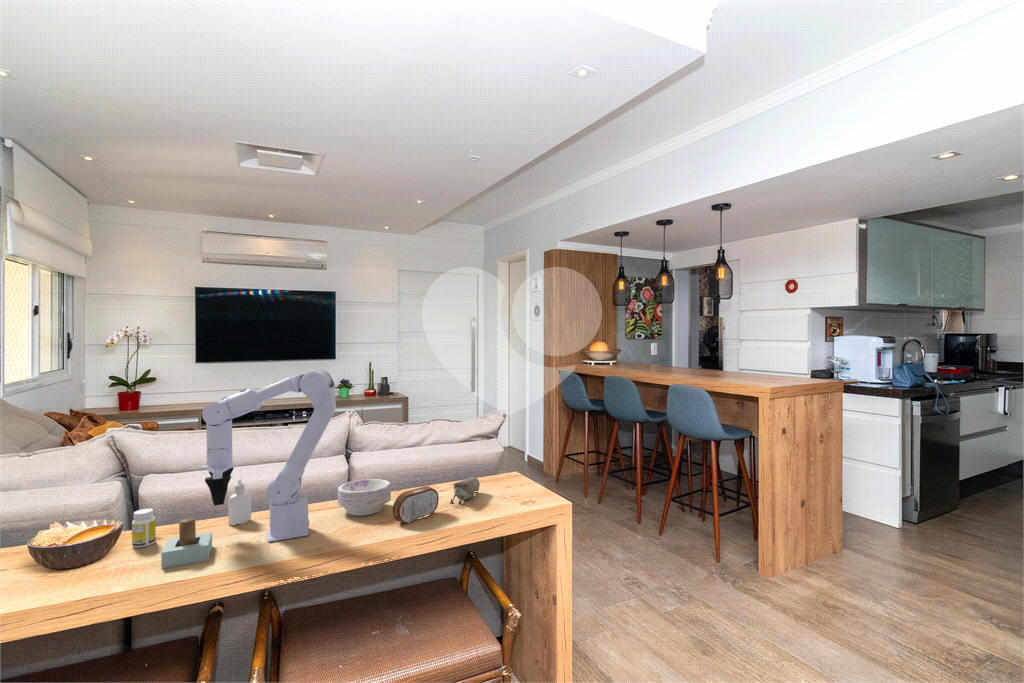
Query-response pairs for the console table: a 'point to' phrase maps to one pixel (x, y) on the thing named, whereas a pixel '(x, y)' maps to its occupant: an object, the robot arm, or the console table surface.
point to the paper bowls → (364, 496)
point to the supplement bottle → (143, 528)
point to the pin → (187, 532)
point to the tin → (415, 504)
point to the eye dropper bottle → (239, 505)
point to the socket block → (186, 551)
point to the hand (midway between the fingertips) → (220, 500)
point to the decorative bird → (465, 489)
